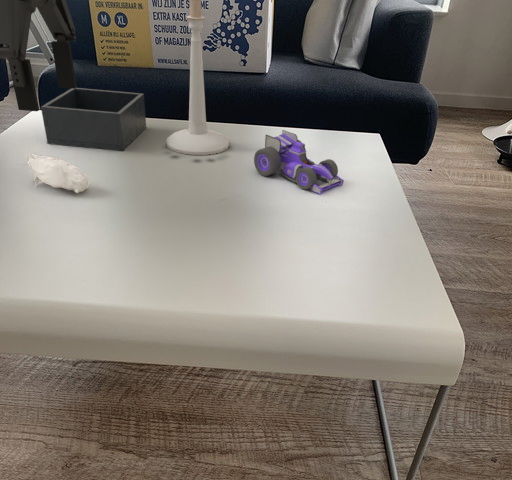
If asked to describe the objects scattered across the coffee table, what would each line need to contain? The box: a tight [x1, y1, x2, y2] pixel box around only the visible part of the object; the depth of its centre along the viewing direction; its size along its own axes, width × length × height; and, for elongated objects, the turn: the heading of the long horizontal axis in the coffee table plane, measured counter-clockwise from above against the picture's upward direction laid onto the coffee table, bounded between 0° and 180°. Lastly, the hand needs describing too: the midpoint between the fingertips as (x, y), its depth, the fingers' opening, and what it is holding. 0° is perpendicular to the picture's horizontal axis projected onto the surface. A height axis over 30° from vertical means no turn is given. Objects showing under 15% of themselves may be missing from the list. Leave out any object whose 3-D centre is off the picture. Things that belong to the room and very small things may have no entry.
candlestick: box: [165, 0, 230, 156], centre depth 103 cm, size 13×13×30 cm
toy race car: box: [253, 129, 345, 195], centre depth 99 cm, size 10×15×6 cm, turn 46°
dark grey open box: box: [40, 87, 147, 152], centre depth 112 cm, size 16×16×7 cm
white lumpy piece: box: [25, 153, 91, 194], centre depth 90 cm, size 5×7×10 cm
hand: (49, 98), depth 82 cm, fingers open, 13 cm apart
